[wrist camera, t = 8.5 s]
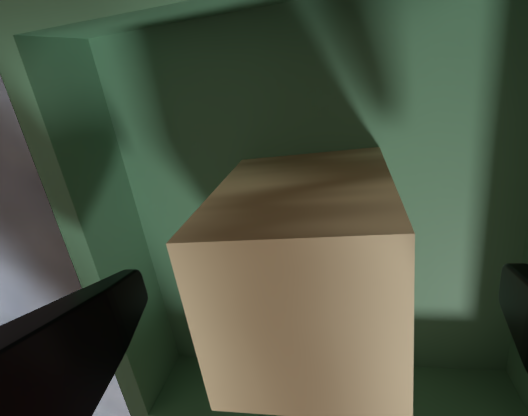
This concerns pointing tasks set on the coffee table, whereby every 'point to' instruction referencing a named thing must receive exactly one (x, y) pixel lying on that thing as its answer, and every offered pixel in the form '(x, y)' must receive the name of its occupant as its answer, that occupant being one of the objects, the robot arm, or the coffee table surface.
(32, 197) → the coffee table surface
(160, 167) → the green bin
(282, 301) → the beech block
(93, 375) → the robot arm
